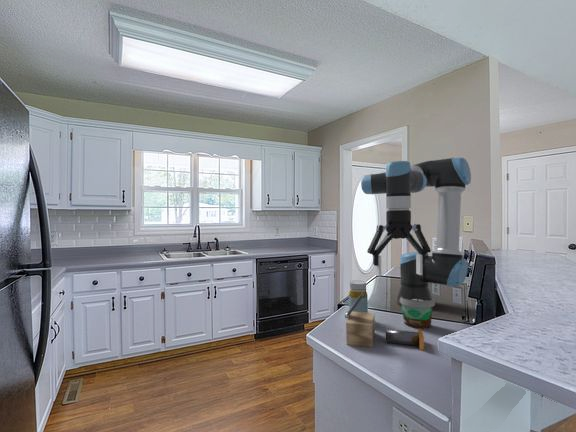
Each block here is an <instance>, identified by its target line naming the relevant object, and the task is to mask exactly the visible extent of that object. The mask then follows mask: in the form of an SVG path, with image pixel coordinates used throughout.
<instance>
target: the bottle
mask: <svg viewBox="0 0 576 432" xmlns="http://www.w3.org/2000/svg"><path fill="white" fill-rule="evenodd" d="M362 292H364V296H363V298H362V299H361V300H360V302H359V303H358V304H357V306H356V307H355V308H354V310H353V311H354V312H366V313H369V312H368V310H369V309H368V307H369V305H368V304H369V303H368V298H369V297H368V292H367V281H365V280H350V282H349V293H348V310H349V309H350V308H351V307H352V305H353V304H354V303H355V301H356V300H357V299H358V297H359V296H360V295H361V293H362Z"/></svg>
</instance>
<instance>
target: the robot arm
mask: <svg viewBox="0 0 576 432" xmlns="http://www.w3.org/2000/svg"><path fill="white" fill-rule="evenodd" d="M385 167H386V168H385V172H381V173H370V174H365V175H364V176H363V177H362V178H361V181H360V183H361V184H360V187H361V190H362V192H363V194H365V195H373V196H374V195H379V194H380V195H382V194H386V197H385V198H386V199H385V200H386V201H385V202H386V203H385V204H386V205H385V206H386V207H385V208H386V209H388V210H386V213H385V214H386V215H385V216H386V217H385V218H386V225H382V224H377V225H376V231H375V233H374V236H373V238H372V240H371V242H370V244H369V246H368V249H367V253H368V254H369V255H372V257H373V259H372V262H373V263H372V264H373V266H375V275H376V276H377V277H382V255H380V254H381V253H382V251H383V250H384V249H385V248H386V247H387V245H388V244H389V243H390V242H391V241H392V240H393V239H396V240H397V239H406V240H407V241H408V242H409V243H410V244H411V246H412V247H413V248H414V249H415V250H416V251H415V252H406V253H402V255H400V261H399V266H400V267H399V268H400V269H399V270H400V287H399V290H398V294H397V296H396V303H397V304H398V305H400V306H402V304H401V303H400V298H401V297H402V298H404V299H421V300H428V301H431V300H433V298H432V294H431V291H430V288H429V284H435V285H442V286H447V287H457V288H458V287H461V286H462V285H463V284H464V282H465V281H466V278H467V275H468V269H469V264H468V263H469V262H468V260H467V259H465V258H464V254H463V253H462V252H461V251H460V228H461V201H462V193H463V192H464V191H466V186H468V185H470V184H471V181H472V174H471V173H472V172H471V169H470V165H469V163H468V161H467V160H466V158H464V157H451V158H449V157H448V158H443V159H434V160H426V161H423V162H419V163H416V164H412V165H411V162H410V161H406V160H398V161H397V160H396V161H390V162H387V164H386V166H385ZM426 187H429V188H430V187H434V190H435V191H436V192H437V193H438V199H437V200H438V201H437V221H436V222H437V225H436V245H435V249H434V250H432V249H431V247H430V246H429V244H428V241H427V240H426V237H425V236H424V234H423V232H422V226H421V224H419V223H414V224H412V223H411V222H412V211H411V210H410V209H411V208H412V202H411V201H412V197H411V195H412V194H413V193H415V194H416V193H419V192H422V191H423V190H425V189H426ZM385 230H386V232H387V233H386V234H385V236H384V237H383V239H382V240H381V237H382V235H383V233H384V232H385ZM411 231H413V232H414V234H415V235H416V239H417V240H418V241H417V240H416V239H415V238H414V236H413V235H412V233H410V232H411ZM380 240H381V241H380ZM379 241H380V242H379ZM378 243H379V244H378ZM431 251H432V252H431ZM429 253H431V255H429Z"/></svg>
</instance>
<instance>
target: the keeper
mask: <svg viewBox="0 0 576 432" xmlns="http://www.w3.org/2000/svg"><path fill="white" fill-rule="evenodd" d="M363 296H364V292H362V293H361V295H360V296H359V297H358V299H357V300H356V301H355V303H354V304H353V305H352V307H351V308H350V309H349V308H348V310H347V311H346V312H345V315H344V318H345V319H348V318H349V315H350V314H351V312H352V311H353V310H354V308H355V307H356V306H357V304H358V303H359V302H360V300H361V299H362V298H363Z"/></svg>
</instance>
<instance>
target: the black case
mask: <svg viewBox="0 0 576 432" xmlns="http://www.w3.org/2000/svg"><path fill="white" fill-rule="evenodd" d="M424 338H425V336H424V332H423V329H418V328H417V331H410V330H409V331H408V330H400V329H399V330H398V329H390V328H389V329H387V328H385V343H391V344H399V345H400V344H401V345H409V346H418V349H419V351H424V350H425V349H424V348H425V342H424V341H425V339H424Z"/></svg>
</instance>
